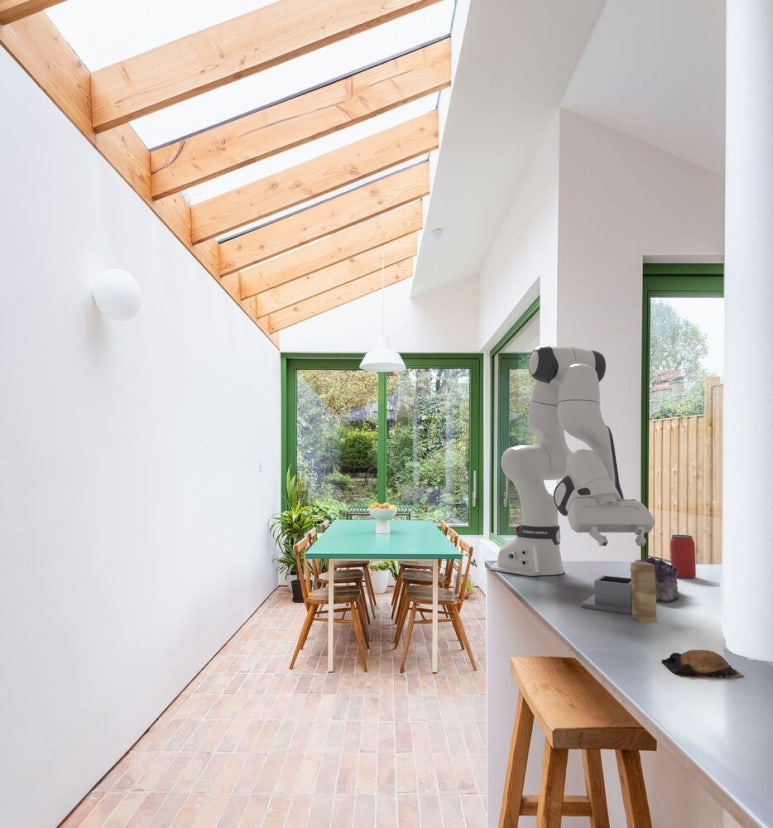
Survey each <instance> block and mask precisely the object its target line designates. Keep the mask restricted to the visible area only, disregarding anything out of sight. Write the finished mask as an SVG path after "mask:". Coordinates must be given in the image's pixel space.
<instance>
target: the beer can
mask: <svg viewBox="0 0 773 828" xmlns="http://www.w3.org/2000/svg"><path fill="white" fill-rule="evenodd" d="M695 544H696V543H695V541H694V539H693V535H689V534H688V535H687V534H671V538H670V543H669V549H670V565H671V566H672V567H673V566H675V567H676V568H677V573H678V574H677V579H685V580H686V579H687V580H689V579H691V580H692V579H694V578H696V576H697V570H696V569H697V568H696V566H697V565H696V545H695Z"/></svg>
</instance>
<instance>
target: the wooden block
mask: <svg viewBox="0 0 773 828" xmlns="http://www.w3.org/2000/svg"><path fill="white" fill-rule="evenodd" d="M634 562H635V561H634ZM634 562H630V568H631V571H630V578H631V586H632V614H631V615H632V617H631V618H632V619H633V620H636V621H637V622H639V623H657V602H656V588H655V565H653V564H650V563H646V562H635V563H634Z"/></svg>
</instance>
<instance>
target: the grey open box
mask: <svg viewBox="0 0 773 828" xmlns="http://www.w3.org/2000/svg"><path fill="white" fill-rule="evenodd" d="M593 582H594V583H593V584H594V593H593V595H591V596H590V597H588V598H587V599H585V600H584V601H582V602H581V608H584V609H589V610H590V609H591V610H599V611H605V612H606V611H607V612H612V613H619V614H621V613H622V614H628V615H632V586H631V577H622V576H612V575H601V576H600V577H599V578H596V579H595V580H594V581H593Z"/></svg>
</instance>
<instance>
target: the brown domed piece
mask: <svg viewBox="0 0 773 828" xmlns="http://www.w3.org/2000/svg"><path fill="white" fill-rule="evenodd" d="M660 663H661V664H662V665H663V666H664V667H666V668H667V670H668V671H669V672H671V674H674V675H676V676H679V677H680V678H693V679H694V678H695V679H696V678H699V679H728V678H729V679H731V678H732V679H733V678H736V679H737V678H744V677H745V675H744V674H743V673H741V672H739V671H738V670H737V669H735V668H734V667H732V665H731V664H730V663H728V661H727V660H726V659H725V658H724V657H723V656H722V655H720V654H719V653H717V652H715V651H713V650H708V649H690V650H687V651H685V652H682V653H680V652H672V653H671V654H670V655H669V657H667V658H666V659H661V661H660Z"/></svg>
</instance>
